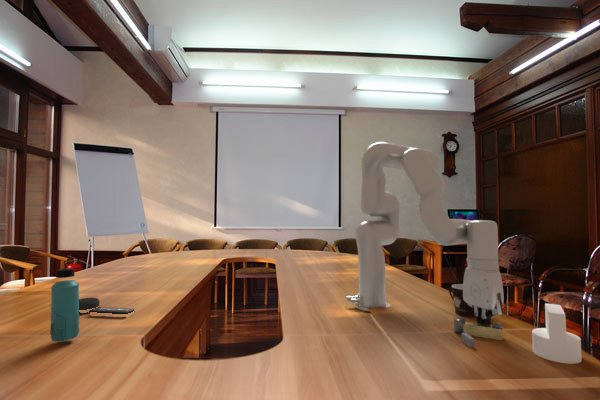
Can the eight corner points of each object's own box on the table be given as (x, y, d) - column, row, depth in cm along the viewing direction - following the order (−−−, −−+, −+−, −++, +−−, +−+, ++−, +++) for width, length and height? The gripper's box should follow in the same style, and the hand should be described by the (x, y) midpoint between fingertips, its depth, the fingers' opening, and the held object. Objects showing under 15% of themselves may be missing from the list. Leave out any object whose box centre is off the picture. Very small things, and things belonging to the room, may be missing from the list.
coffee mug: (485, 323, 103) (484, 290, 104) (456, 321, 105) (455, 289, 105) (474, 312, 115) (473, 282, 115) (447, 310, 116) (446, 282, 117)
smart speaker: (89, 315, 115) (89, 303, 116) (63, 315, 116) (64, 303, 116) (104, 307, 124) (104, 297, 124) (81, 308, 124) (81, 297, 125)
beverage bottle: (84, 339, 92) (86, 267, 93) (60, 349, 86) (62, 271, 87) (68, 337, 94) (69, 266, 95) (43, 346, 88) (44, 270, 89)
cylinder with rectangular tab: (585, 373, 71) (583, 316, 71) (534, 364, 76) (532, 310, 76) (578, 358, 78) (576, 306, 79) (531, 350, 83) (530, 301, 84)
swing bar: (453, 333, 91) (453, 319, 91) (454, 330, 94) (454, 316, 94) (503, 340, 85) (502, 325, 86) (502, 337, 88) (502, 322, 88)
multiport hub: (126, 319, 111) (126, 312, 111) (88, 317, 114) (88, 310, 114) (134, 315, 115) (135, 308, 116) (98, 313, 118) (98, 306, 118)
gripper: (452, 261, 98) (453, 324, 98) (494, 270, 84) (496, 343, 83) (472, 260, 100) (474, 321, 100) (517, 268, 86) (519, 340, 85)
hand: (484, 331), depth 92 cm, fingers closed
